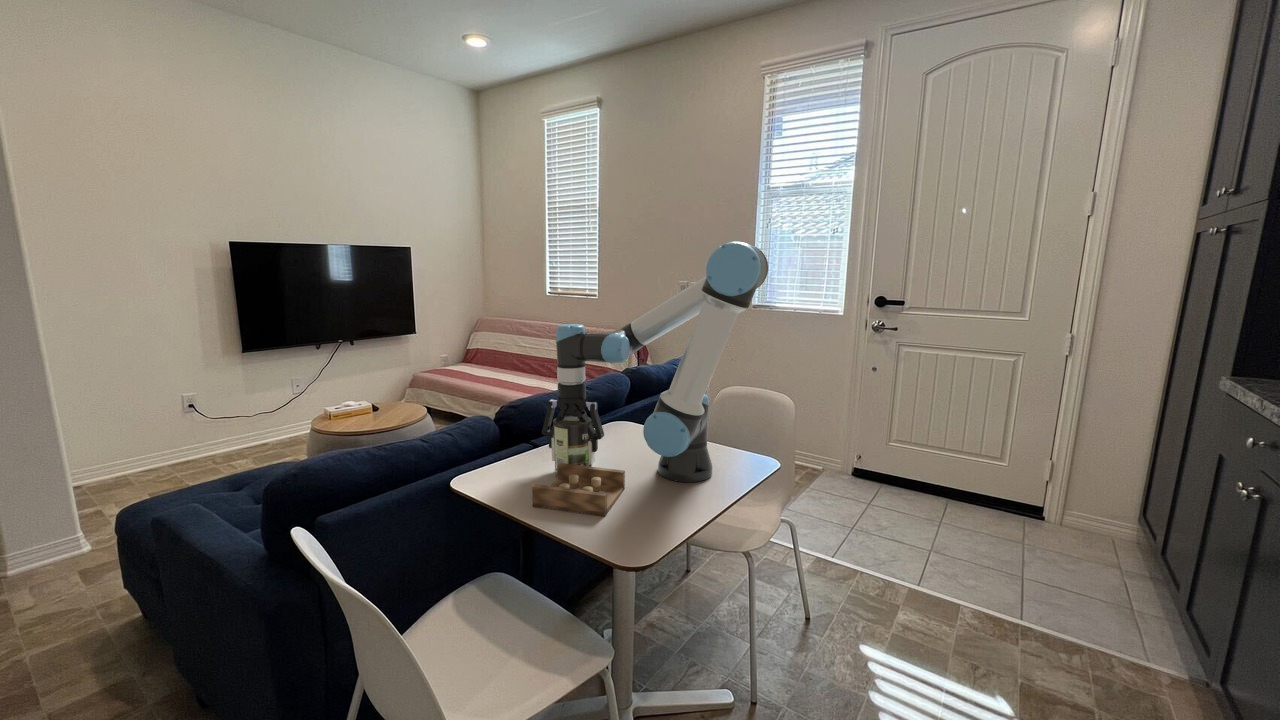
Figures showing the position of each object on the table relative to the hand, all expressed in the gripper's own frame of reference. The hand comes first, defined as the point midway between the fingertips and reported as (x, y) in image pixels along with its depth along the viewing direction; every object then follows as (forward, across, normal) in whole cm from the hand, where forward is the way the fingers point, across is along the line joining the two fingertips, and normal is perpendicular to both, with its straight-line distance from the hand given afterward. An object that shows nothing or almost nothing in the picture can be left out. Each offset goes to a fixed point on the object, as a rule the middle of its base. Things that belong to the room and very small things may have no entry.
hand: (573, 461), depth 143 cm
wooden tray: (+4, -7, +14) cm, 16 cm away
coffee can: (+3, 0, 0) cm, 3 cm away
